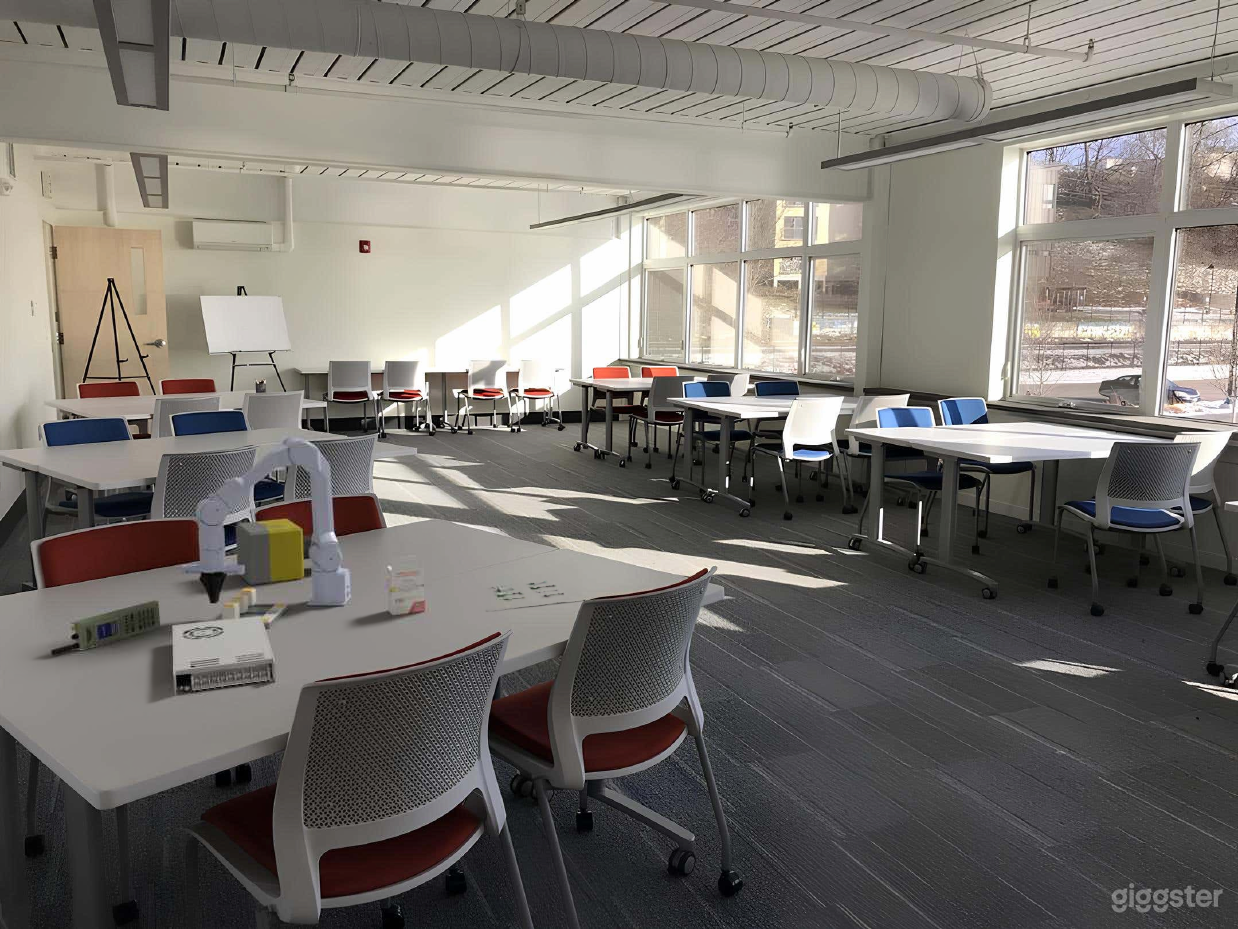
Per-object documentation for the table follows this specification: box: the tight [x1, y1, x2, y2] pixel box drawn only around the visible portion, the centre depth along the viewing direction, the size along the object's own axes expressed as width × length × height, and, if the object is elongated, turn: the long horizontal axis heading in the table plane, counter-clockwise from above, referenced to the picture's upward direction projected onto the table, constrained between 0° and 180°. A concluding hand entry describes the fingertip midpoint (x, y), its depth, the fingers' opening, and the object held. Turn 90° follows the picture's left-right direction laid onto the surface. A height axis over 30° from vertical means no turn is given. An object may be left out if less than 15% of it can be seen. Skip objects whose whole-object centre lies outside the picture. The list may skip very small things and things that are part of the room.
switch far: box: [239, 587, 257, 606], centre depth 238 cm, size 3×3×4 cm
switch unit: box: [212, 602, 290, 629], centre depth 233 cm, size 14×16×2 cm
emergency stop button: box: [235, 518, 313, 586], centre depth 272 cm, size 15×24×15 cm, turn 124°
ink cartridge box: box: [386, 555, 426, 616], centre depth 240 cm, size 9×5×15 cm, turn 116°
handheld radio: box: [50, 600, 161, 656], centre depth 214 cm, size 7×3×25 cm
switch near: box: [221, 601, 240, 620], centre depth 226 cm, size 3×3×4 cm
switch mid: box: [230, 594, 248, 613], centre depth 232 cm, size 3×3×4 cm
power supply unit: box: [172, 616, 277, 693], centre depth 203 cm, size 19×33×5 cm, turn 25°
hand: (214, 602), depth 232 cm, fingers closed
